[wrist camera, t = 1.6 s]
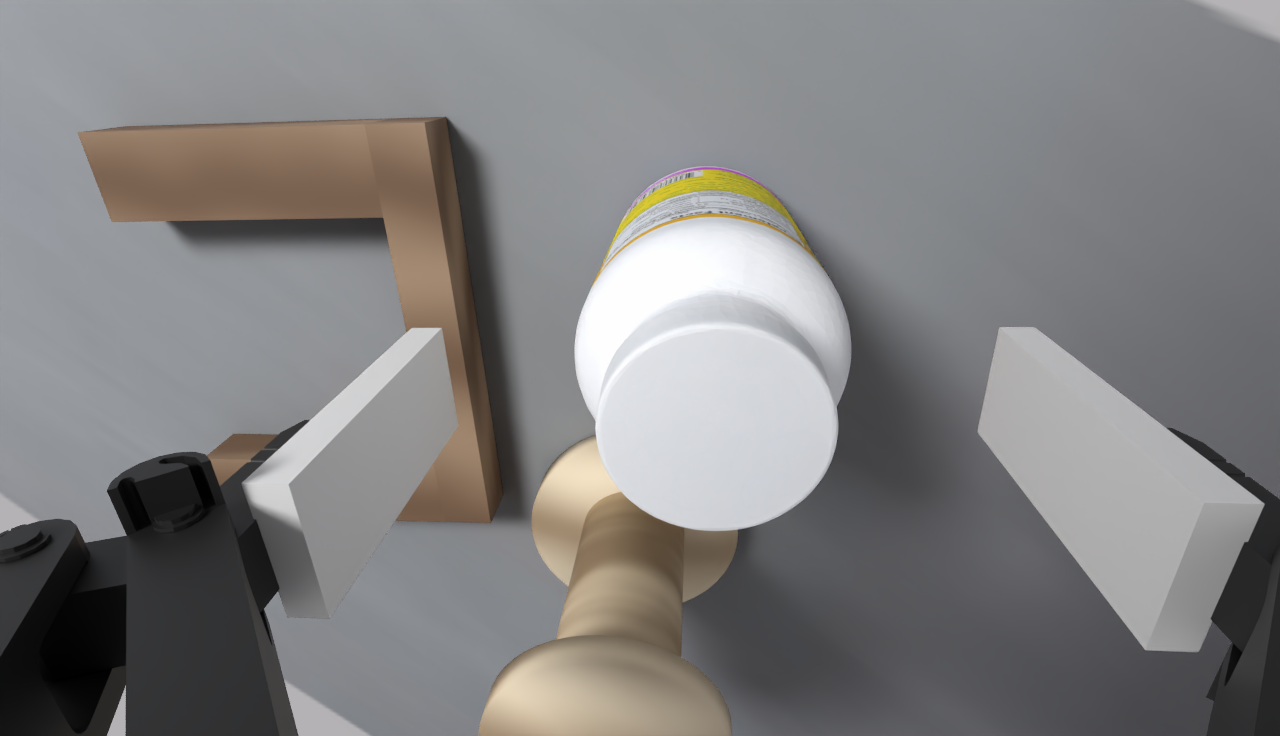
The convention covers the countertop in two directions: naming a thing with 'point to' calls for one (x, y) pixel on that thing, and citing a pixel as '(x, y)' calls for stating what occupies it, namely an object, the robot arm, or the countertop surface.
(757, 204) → the supplement bottle
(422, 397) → the robot arm
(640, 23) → the countertop surface
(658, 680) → the bobbin
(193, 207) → the notch board
